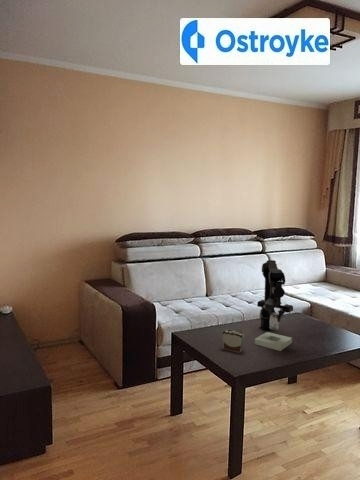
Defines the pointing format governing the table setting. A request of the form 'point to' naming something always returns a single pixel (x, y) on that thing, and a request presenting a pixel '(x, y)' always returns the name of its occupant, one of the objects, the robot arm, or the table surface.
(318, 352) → the table surface
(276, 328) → the gray cylinder
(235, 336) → the food container
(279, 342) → the bore block
